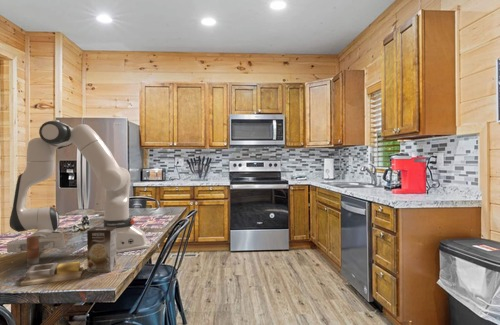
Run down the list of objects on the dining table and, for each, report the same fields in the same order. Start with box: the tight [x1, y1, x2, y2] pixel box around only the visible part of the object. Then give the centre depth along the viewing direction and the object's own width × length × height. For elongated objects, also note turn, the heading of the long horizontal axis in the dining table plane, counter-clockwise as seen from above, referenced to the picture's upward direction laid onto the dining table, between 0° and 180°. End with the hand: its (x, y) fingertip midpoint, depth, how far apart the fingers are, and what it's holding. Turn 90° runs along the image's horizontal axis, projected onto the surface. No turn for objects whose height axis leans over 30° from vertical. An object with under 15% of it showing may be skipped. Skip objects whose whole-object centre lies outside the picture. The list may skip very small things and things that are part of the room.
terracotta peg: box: [26, 236, 40, 270], centre depth 128 cm, size 4×4×12 cm
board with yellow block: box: [20, 260, 85, 287], centre depth 119 cm, size 18×14×4 cm
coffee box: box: [86, 226, 117, 273], centre depth 125 cm, size 9×6×16 cm
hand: (32, 248), depth 128 cm, fingers open, 8 cm apart
